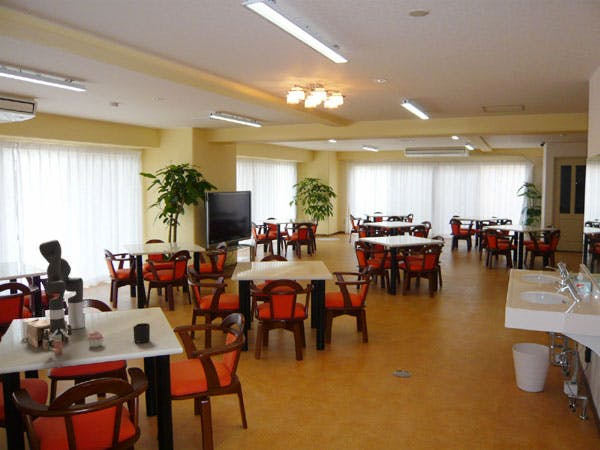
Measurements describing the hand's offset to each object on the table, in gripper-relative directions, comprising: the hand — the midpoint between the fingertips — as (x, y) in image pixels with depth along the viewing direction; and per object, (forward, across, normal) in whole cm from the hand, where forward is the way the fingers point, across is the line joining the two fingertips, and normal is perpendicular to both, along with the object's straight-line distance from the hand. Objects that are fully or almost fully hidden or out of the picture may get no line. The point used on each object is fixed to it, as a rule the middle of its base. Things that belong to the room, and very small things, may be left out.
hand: (58, 345), depth 294 cm
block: (+5, -8, -26) cm, 27 cm away
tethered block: (+5, 0, -7) cm, 9 cm away
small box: (+5, -1, -46) cm, 47 cm away
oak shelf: (+5, -4, -27) cm, 28 cm away
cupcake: (+5, -20, +3) cm, 21 cm away
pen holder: (+5, -43, +15) cm, 46 cm away
